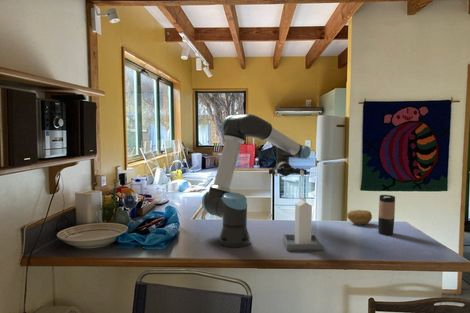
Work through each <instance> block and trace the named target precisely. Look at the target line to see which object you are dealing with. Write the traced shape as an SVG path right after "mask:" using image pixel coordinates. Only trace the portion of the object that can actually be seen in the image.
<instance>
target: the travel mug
mask: <svg viewBox="0 0 470 313" xmlns="http://www.w3.org/2000/svg"><path fill="white" fill-rule="evenodd" d="M378 202H379V203H378V223H377V224H378V228H377V229H378V234H380V235H383V236H393V235H394V228H395V218H396V217H395V215H396V214H395V212H396V196H394V195H391V194H380V195H379V201H378Z"/></svg>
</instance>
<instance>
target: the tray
mask: <svg viewBox="0 0 470 313" xmlns="http://www.w3.org/2000/svg"><path fill="white" fill-rule="evenodd" d="M282 241H283V243H284V246H285V248H286V249H285V250H286V251H288V252H289V251H290V252H291V251H292V252H293V251H294V252H299V251H300V252H323V249H324V248H323V247H324V246H323V243H322V241H321V240H320V239H319V237H318V236H317V234H311V244H296V243H295V233H293V234H292V233H291V234H289V233H287V234H286V233H284V234H282Z"/></svg>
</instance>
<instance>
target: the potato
mask: <svg viewBox="0 0 470 313" xmlns="http://www.w3.org/2000/svg"><path fill="white" fill-rule="evenodd" d="M371 212H372V211H370V210H362V209H355V210H350V211H348V212H347V214H346V218H347V219H348V221H350V222H351V223H352V224H356V225H365V224H369V223H370V222H371V221H372V219H373V215H372V213H371Z"/></svg>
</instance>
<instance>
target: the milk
mask: <svg viewBox="0 0 470 313" xmlns="http://www.w3.org/2000/svg"><path fill="white" fill-rule="evenodd" d="M294 205H295V206H294V208H295V210H294V234H295V243H296V244H311V235H312V221H313V220H312V218H313V217H312V215H313V214H312V213H313V212H312V211H313V209H312V208H313V206H312V205H311V204H309V203H308V202H307V199H306V198H305V197H303V196H301V199H300V200H298V201H296V203H295V204H294Z"/></svg>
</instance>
